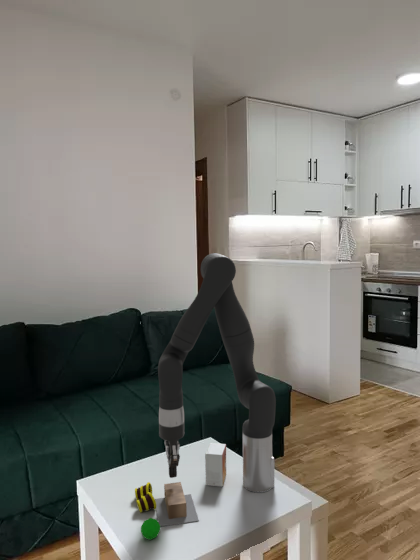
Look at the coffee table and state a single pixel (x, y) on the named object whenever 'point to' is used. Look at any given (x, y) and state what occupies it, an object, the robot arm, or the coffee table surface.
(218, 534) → the coffee table surface
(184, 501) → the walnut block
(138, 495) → the opera glasses
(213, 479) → the small box
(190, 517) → the mat
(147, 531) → the polyhedron
